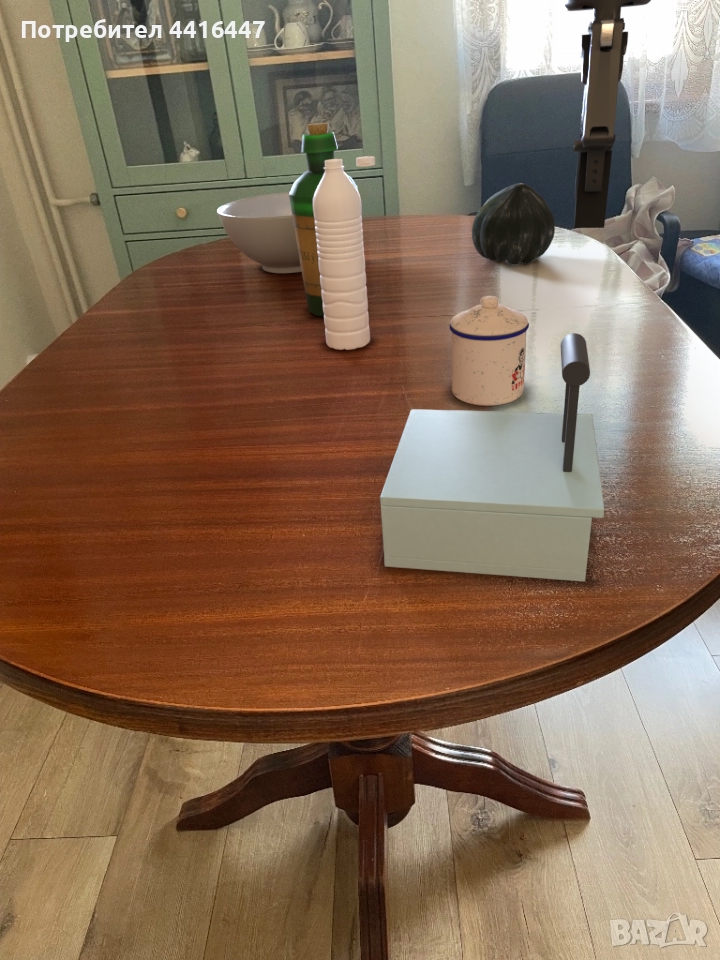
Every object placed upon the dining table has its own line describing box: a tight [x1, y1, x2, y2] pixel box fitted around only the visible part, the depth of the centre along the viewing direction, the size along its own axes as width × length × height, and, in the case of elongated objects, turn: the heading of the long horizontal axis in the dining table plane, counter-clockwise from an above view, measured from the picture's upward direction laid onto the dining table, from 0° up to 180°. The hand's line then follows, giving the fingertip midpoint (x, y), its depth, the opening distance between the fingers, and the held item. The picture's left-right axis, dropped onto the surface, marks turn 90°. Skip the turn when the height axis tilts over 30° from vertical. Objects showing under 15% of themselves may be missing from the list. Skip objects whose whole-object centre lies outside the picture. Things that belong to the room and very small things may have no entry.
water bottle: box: [313, 155, 376, 351], centre depth 100 cm, size 9×6×25 cm
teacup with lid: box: [449, 295, 530, 407], centre depth 87 cm, size 12×9×12 cm
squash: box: [471, 182, 556, 266], centre depth 136 cm, size 14×15×15 cm
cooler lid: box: [379, 332, 605, 519], centre depth 59 cm, size 17×16×10 cm
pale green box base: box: [380, 504, 593, 583], centre depth 64 cm, size 16×16×6 cm
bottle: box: [289, 122, 359, 318], centre depth 113 cm, size 11×11×28 cm
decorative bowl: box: [216, 191, 302, 274], centre depth 145 cm, size 27×27×12 cm
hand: (587, 212), depth 73 cm, fingers open, 13 cm apart
